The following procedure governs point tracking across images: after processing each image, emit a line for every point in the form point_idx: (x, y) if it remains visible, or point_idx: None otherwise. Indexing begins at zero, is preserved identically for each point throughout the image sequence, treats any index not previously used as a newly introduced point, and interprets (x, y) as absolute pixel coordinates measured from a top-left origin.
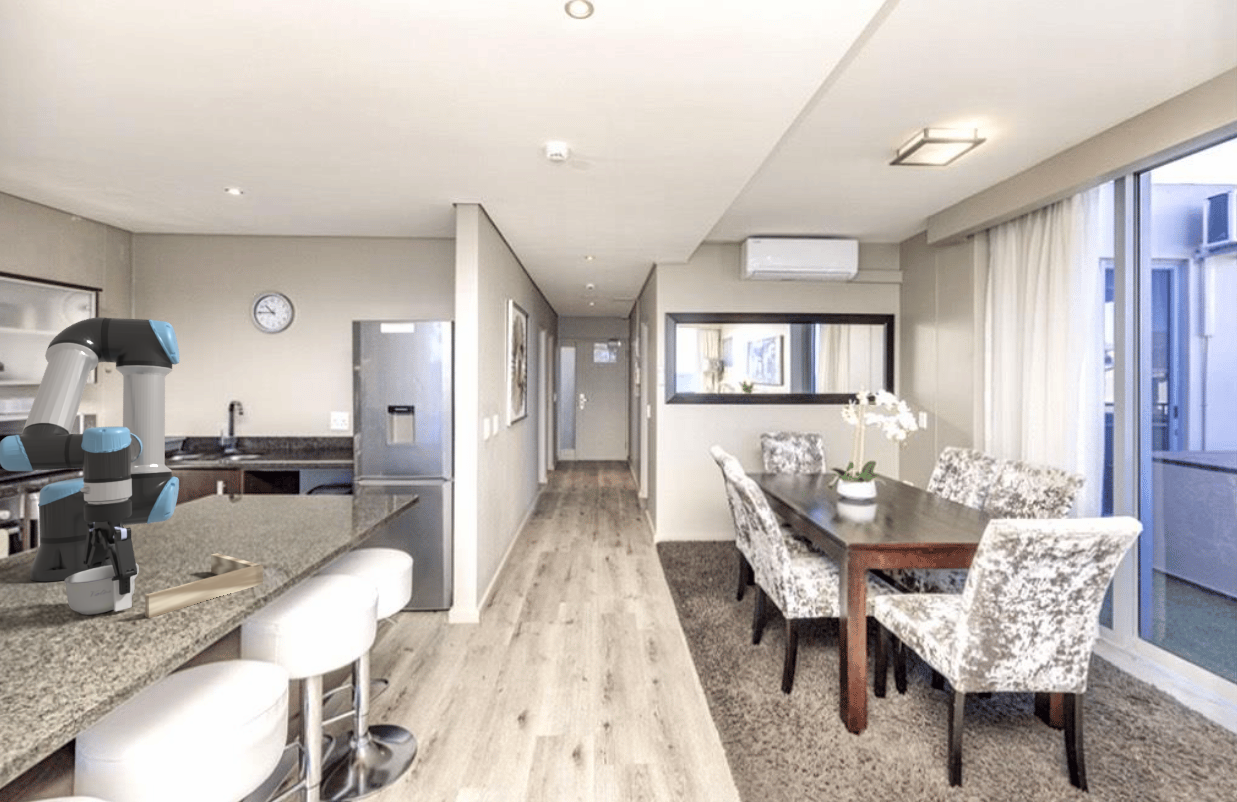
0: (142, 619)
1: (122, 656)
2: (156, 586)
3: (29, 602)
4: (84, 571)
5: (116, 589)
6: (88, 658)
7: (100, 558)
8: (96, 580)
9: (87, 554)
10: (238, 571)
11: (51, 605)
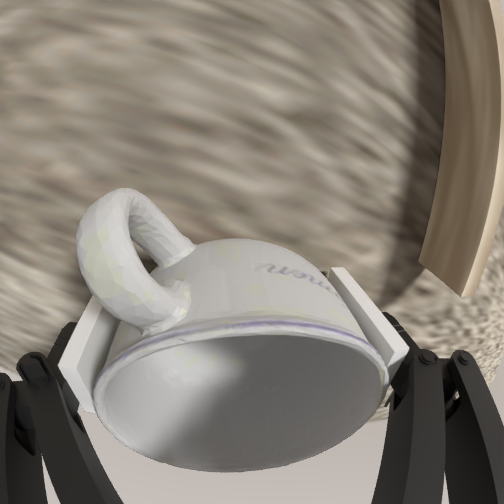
0: (423, 272)
1: (482, 335)
2: (104, 75)
3: (9, 354)
4: (115, 431)
5: None
6: None
7: (84, 446)
8: (347, 436)
9: (41, 469)
10: (501, 14)
11: None
